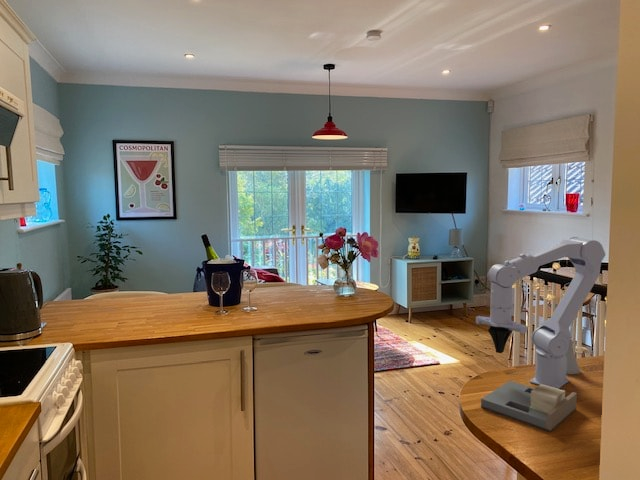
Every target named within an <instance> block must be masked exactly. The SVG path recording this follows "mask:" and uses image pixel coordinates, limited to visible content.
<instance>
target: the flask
mask: <svg viewBox="0 0 640 480" xmlns="http://www.w3.org/2000/svg"><path fill="white" fill-rule="evenodd" d="M574 342H575V340H574V339H573V338H571V339H570V342H569V348H568V351H567V352H566V354H565V356H566V359H567V370H566V375H580V373H581V369H580V366H579V364H578V363H579V362H578V361H577V358H576V355H575V352H574V347H573V346H574Z"/></svg>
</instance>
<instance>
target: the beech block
mask: <svg viewBox="0 0 640 480" xmlns="http://www.w3.org/2000/svg"><path fill="white" fill-rule="evenodd" d="M534 388H535V389H533V390H532V391H531V406H532V407H535V408H538V409H541V410H545V411H548V412H549V411H550V410H551V409H552V408H554V407H555V406H556V405H557V404H558V403H560V402H561V401H562V400H563V399H565V397H566V390H564V389H560V388H559V389H557V388H554V387H550V386H547V385H543V384H540V385H538V386H536V387H534Z"/></svg>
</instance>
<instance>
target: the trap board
mask: <svg viewBox="0 0 640 480" xmlns="http://www.w3.org/2000/svg"><path fill="white" fill-rule="evenodd" d="M535 388H536V387H532V386H529V385H525V384H522V383H520V382H515V381H512V380H509V381H507V382H505V383H504V384H502V385H501V386H499V387H497V388H495V390H493V391H491V392H490V393H488V394H486V395H484V396H483V397H481V399H480V401H481V402H480V408H481V409H484V410H487V411H489V412H492V413H496V414H497V415H501V416H504V417H506V418H510V419H512V420H514V421H517V422H521V423H523V424H525V425H529V426H531V427H535V428H537V429H540V430H543V431H545V432H549V433H551V432H553V431H554V430H555V429H556V428H557V427H558V426H559V425H561V424H562V422H564V421H565V420H566V419H567V418H569V417H570V416H571V415H572V414H573V413H574V412H576V410H577V401H578V400H577V397H578V396H577V395H578V394H577V392H574V391H572V392H571V393H569V394H568V395H567V396H565V399H563V400H562V401H561V402H560V403H558V404H557V405H556V406H555V407H554V408H552V409H551V410H550V411H549V412H548V411H545V410H541V409H538V408H535V407H532V406H531V391H532V390H533V389H535Z"/></svg>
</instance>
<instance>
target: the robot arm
mask: <svg viewBox="0 0 640 480" xmlns="http://www.w3.org/2000/svg"><path fill="white" fill-rule="evenodd" d="M518 256H519V257H515V258H513V259H511V260H504V262H503V264H501V263H500V264H499V263H496V264H494V265H492V266H491V267H490V268H489V270H488V272H487V273H486V277H487V279H488V281H489V283H490V300H489V301H490V306H489V307H490V309H489V311H490V312H489V313H490V314H489V316H482V315H478V316H476V317H475V324H477V325H480V324H481V325H484V326H485V325H486V326H489V328H488V329H487V330H488V333H489V334H490V336H491V340H492V341H493V342H492V343H493V345H494V349H495V353H497V354H502V353H504V351H505V347H506V344H507V341H508V339H509V338H510V335H511V334H512V332H517V333H520V334H523V335H524V334H526V333H528V325H527V324H526V325H525V324H522V323H519V322H516V321H513V320H512V308H513V307H512V306H513V305H512V303H513V301H512V299H513V286H514V285H515V283H516V281H518V280H521V279H522V278H525V277H527V276H530V275H532V274H535V273H536V272H538V269H539V267H540V266H543V265H546V264H549V263H552V262H555V261H558V260H561V259H563V258H567V259H568V260H569V261H570V262H571V264H572V265H573V267H574V270H575V274H574V275H573V278H572V280H571V282H570V283H569V284H568V287H567V288H566V290H565V292H564V293H563V296H562V298H560V301H559V302H558V304H557V306H556V307H555V309H554V311H553V313H552V314H551V316H550V318H548V319H546V320H544V321H542V322H541V323H540V325H539V326H538V327H537V328H536V329H534V330H533V332H532V334H531V341H532V344H533V345H534V346H535V373H534V377H533V378H531V379H530V380H529V383H531V384H534V385H538V386H539V385H540V384H543V385H547V386H550V387H554V388H557V389H560V388H562V387H564V385H565V384H567V383H568V382H569V381H571V379H570V378H567V374H566V370H567V359H566V356H565V354H566V352H567V351H568V348H569V342H570V339H573V338H572V336H573V335H572V333H571V331H570V327H571V326H572V323H574V320H575V319H576V317H577V315H578V313H579V311H580V309H581V308H582V306H583V304H584V302H585V301H586V300H587V298H588V296H589V294H590V292H591V291H592V288H593V287H594V285H595V284H596V282H597V280H598V278H599V277H600V273H601V266H602V262H603V260H604V258H605V257H606V252H605V249H604V247H603V245H602V243H600V241H598V240H594V239H586V238H579V237H578V236H571V237H569V238H567V239H563V240H561V241H560V242H559V243H557V244H555V245H553V246H551V247H548V248H546V249H544V250H541V251H540V252H538V253H536V254H534V255H532V254H530V253H520V254H518Z"/></svg>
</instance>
